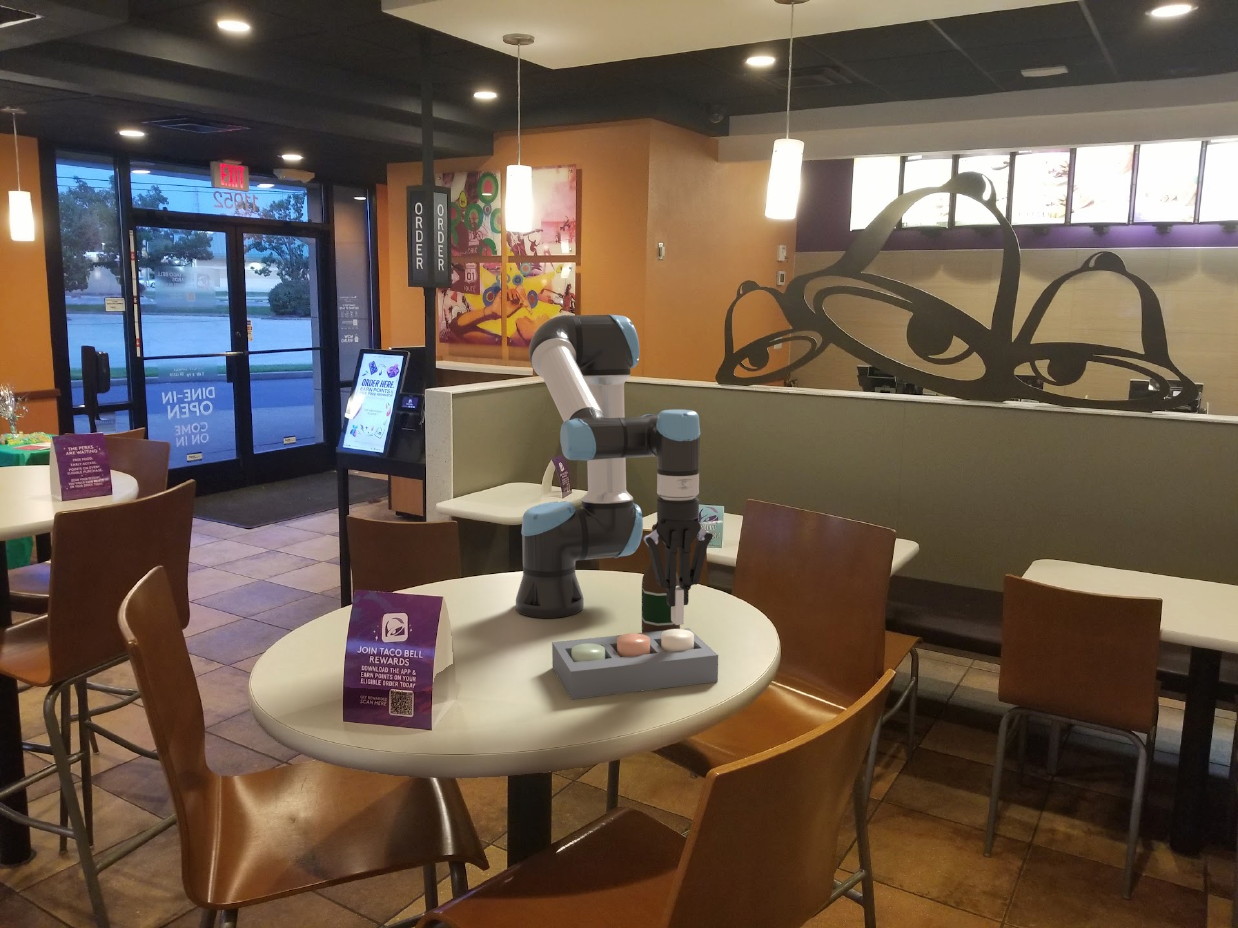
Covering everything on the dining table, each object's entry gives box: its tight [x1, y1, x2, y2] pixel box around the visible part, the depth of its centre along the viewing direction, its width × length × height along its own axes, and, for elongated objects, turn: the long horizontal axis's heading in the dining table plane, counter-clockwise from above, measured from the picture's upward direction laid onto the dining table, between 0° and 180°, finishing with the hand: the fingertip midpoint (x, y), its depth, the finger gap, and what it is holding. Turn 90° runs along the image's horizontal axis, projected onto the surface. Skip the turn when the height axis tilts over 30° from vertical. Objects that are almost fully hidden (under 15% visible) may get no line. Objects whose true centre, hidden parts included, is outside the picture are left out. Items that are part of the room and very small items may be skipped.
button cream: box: [661, 628, 694, 652], centre depth 174 cm, size 6×6×4 cm
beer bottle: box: [641, 523, 681, 633], centre depth 188 cm, size 8×8×24 cm
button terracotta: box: [617, 632, 650, 657], centre depth 172 cm, size 6×6×4 cm
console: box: [551, 627, 719, 700], centre depth 172 cm, size 15×27×5 cm, turn 106°
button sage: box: [572, 644, 605, 662], centre depth 169 cm, size 6×6×4 cm
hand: (677, 622), depth 173 cm, fingers closed
